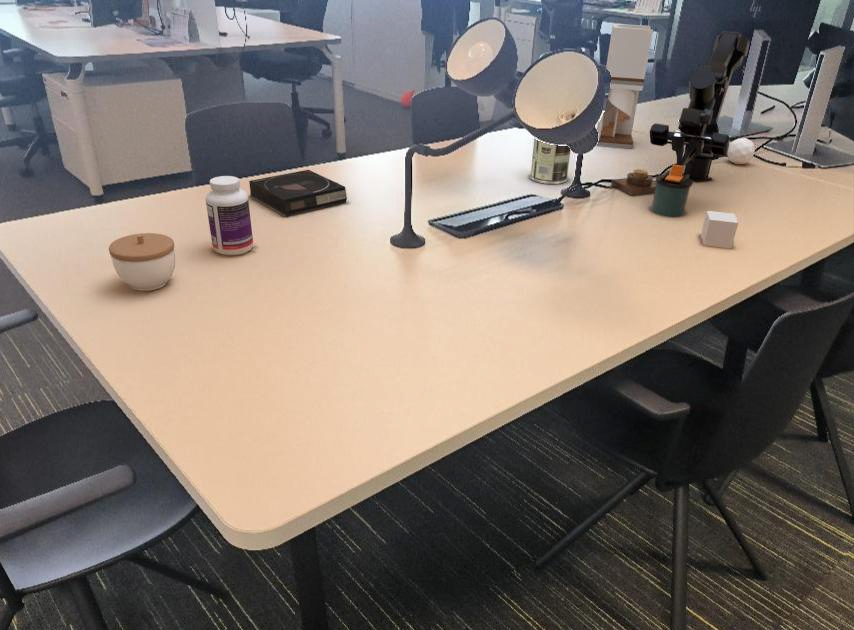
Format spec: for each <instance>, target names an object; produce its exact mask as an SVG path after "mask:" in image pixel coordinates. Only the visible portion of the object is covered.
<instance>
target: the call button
mask: <svg viewBox="0 0 854 630" xmlns="http://www.w3.org/2000/svg"><path fill="white" fill-rule="evenodd" d="M633 172H634V173H633ZM633 172H632V173H633V177H636V178H643V179H644V178H647V174H648V173H649V172H648V170H646V169H640V168H639V169H637V168H636V169H634V170H633ZM648 175H649V174H648Z"/></svg>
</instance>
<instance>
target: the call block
mask: <svg viewBox="0 0 854 630" xmlns="http://www.w3.org/2000/svg"><path fill="white" fill-rule="evenodd" d="M633 173H634V171H633V172H629V173H627V174H626V177H623V178H614V179H611V183H610V186H611V187H613V188H615V189H617V190H619V191H621V192H623V193H625V194H627V195H629V196H631V197H633V196H642V195H649V194H650V195H651V194H654V192H655V188H656V183H657V182H656V180H654V179H653V178H654V177H653V176H652V175H650V174H647V178H644V179H643V178H636V177H633Z"/></svg>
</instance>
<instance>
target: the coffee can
mask: <svg viewBox="0 0 854 630" xmlns="http://www.w3.org/2000/svg"><path fill="white" fill-rule="evenodd" d="M570 157H571V150H570V148H569V147H568V146H558V145H550V144H547V143H543V142H541V141H538V140H536V139H535V138H534V137H533V149H532V157H531V158H532V159H531V167H530V176H529V178H530V179H531V180H532V181H533V182H536V183H541V184H545V185H546V184H547V185H560V184H564V183H566V182H567V181H568V173H569V165H570Z"/></svg>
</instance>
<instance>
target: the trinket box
mask: <svg viewBox="0 0 854 630" xmlns="http://www.w3.org/2000/svg"><path fill="white" fill-rule="evenodd" d="M108 252H109V255H110V258H111V262H112V265H113V268H114V270H115V273H116V274H117V276H118V277H119V279H121V281H123V283H125V284H126V285H128V286H130V287H131V288H132V290H136V291H139V292H149V291H155V290H158V289H161V288H163V287H165V286H166V285H167V283H168V281H169V280H170V279H171V278H172V276H173V274H174V272H175V269H176V251H175V241H174V240H173V238H171V237H170V236H168V235H167V234H161V233H154V232H146V233H145V232H143V233H133V234H129V235H125V236H121V237H120V238H117V239H115V240H113V241H112V242H111V243H110V244H109V245H108Z"/></svg>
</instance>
